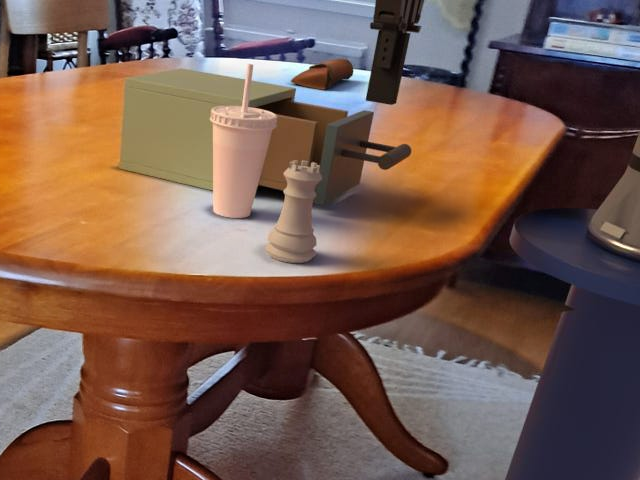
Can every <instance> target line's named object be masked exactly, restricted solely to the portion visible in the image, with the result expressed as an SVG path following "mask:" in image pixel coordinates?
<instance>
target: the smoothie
mask: <svg viewBox="0 0 640 480" xmlns="http://www.w3.org/2000/svg"><path fill="white" fill-rule="evenodd" d="M253 71H254V64H253V63H247V65H246V73H245V79H246V80H245V87H244V95H243V103H242V106H218V107H214V108H213V109H211V117H210V121H211V122H213V190H212V212H213V213H215V214H216V215H217V216H222V217H225V218H231V219H244V218H249V216H250V215H251V213H252V208H253V205H254V201H255V198H256V197H255V196H256V194H257V190H258V187H259V186H258V183H259V179H260V175H261V172H262V168H263V164H264V160H265V157H266V153H267V149H268V146H269V142H270V138H271V134H272V130H273V129H274V128H276V127H277V125H276V124H277V115H276V114H274V113H272V112H269V111H266V110H262V109H257V108H251V107H248V103H249V95H250V88H251V80H252V81H253Z"/></svg>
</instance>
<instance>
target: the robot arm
mask: <svg viewBox="0 0 640 480" xmlns="http://www.w3.org/2000/svg"><path fill="white" fill-rule="evenodd" d="M424 4H425V0H375V3H374V12H373V17H372V18H373V21H372V22H370V24H369V28H370V30H376V31H378V32H377V37H376V43H375V48H374V52H373V53H374V54H373V59H372V64H371V70H370V74H369V79H368V85H367V91H366V96H365V102H371V103H377V104H383V105H390V106H393V105H395V104H397V101H398V96H399V92H400V87H401V81H402V77H403V72H404V67H405V62H406V58H407V53H408V47H409V44H410V43H409V42H410V38H411V33H415V34H419V33H420V32H421V29H422V25H418V23H420V20H421V18H422V11H423V7H424ZM628 161H629V162H628V163H627V167H626V170H625V171H624V173H623V175H622V176H621V178H620V179H619V180H618V182H617V183H616V184H615V186H614V187H613V188H612V190H611V191H610V192H609V194H608V195H607V196H606V198H605V199H604V201H603V202H602V203H601V205H600V206H599V207H598V209H596V210H597V211H596V213H595V214H594V216H593V217H592V219H591V220H590V223H589V226H588V229H587V232H586V238H587V239H588V240H589V241H590V242H591V243H592V244H593V245H595V246H596V247H598V248H600V249H602V250H604V251H606V252H608V253H611V254H613V255H616V256H618V257H621V258H624V259H627V260H630V261H633V262H637V263H640V131H639V132H638V135H637V139H636V140H635V144H634V147H633V150H632V153H631V156H630V158H629V160H628Z"/></svg>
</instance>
